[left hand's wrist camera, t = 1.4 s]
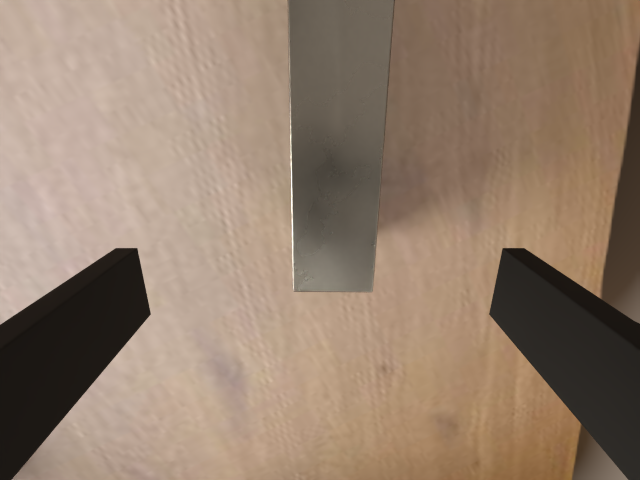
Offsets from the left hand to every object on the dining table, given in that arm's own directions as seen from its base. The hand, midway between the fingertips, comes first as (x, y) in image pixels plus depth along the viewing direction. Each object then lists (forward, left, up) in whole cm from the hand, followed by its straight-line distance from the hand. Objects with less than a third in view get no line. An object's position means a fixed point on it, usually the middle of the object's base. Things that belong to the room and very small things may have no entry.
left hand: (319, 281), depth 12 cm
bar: (+7, -1, -16) cm, 18 cm away
